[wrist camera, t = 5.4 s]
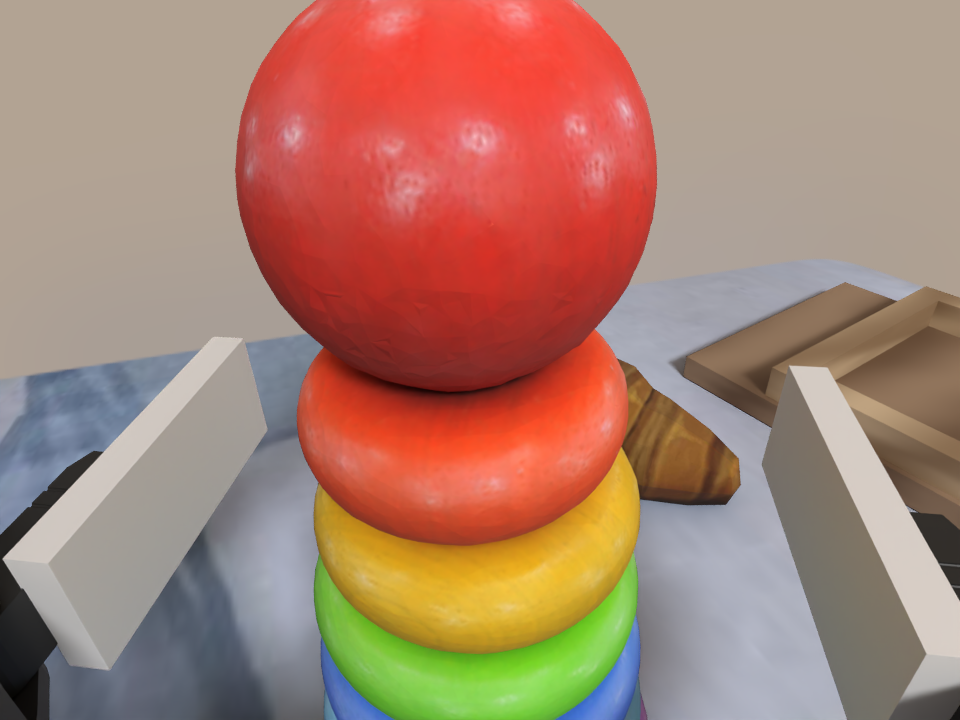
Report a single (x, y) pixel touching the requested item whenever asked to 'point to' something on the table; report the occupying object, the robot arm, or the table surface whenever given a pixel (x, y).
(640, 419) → the croissant
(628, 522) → the stacking toy
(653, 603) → the table surface
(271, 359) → the table surface
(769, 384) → the toy stand
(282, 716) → the table surface
